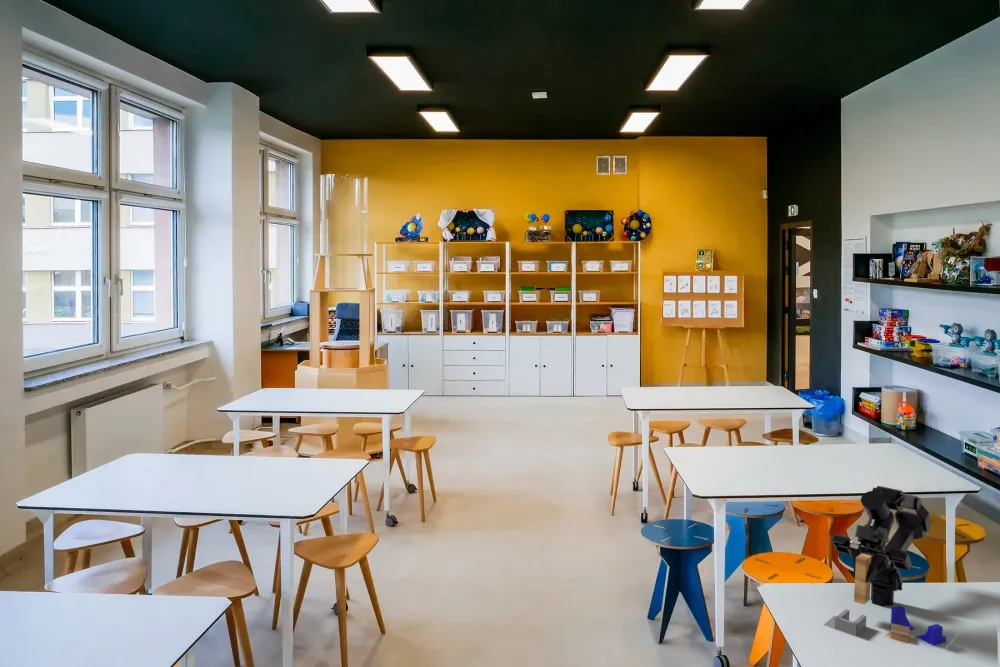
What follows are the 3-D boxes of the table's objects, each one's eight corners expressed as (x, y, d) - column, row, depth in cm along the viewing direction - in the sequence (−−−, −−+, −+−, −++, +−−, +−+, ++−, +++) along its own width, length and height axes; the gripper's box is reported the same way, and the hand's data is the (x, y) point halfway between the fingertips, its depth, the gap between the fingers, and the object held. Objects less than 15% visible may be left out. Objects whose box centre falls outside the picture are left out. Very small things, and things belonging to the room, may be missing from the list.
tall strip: (859, 596, 194) (861, 553, 193) (869, 599, 192) (871, 556, 191) (853, 601, 191) (855, 557, 190) (863, 604, 189) (865, 560, 188)
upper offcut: (891, 629, 186) (891, 623, 186) (909, 633, 184) (909, 627, 184) (890, 638, 182) (890, 631, 182) (908, 642, 180) (909, 635, 180)
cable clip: (945, 648, 180) (946, 625, 180) (932, 652, 179) (934, 628, 178) (903, 626, 191) (904, 604, 191) (890, 629, 190) (891, 607, 189)
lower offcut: (893, 636, 187) (893, 628, 187) (914, 643, 183) (914, 635, 183) (883, 644, 183) (884, 636, 183) (905, 651, 179) (905, 644, 179)
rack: (834, 621, 194) (834, 604, 193) (877, 636, 186) (878, 619, 186) (823, 630, 189) (823, 613, 189) (867, 646, 181) (868, 628, 181)
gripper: (835, 504, 199) (816, 554, 193) (909, 522, 185) (892, 576, 179) (845, 525, 205) (827, 574, 199) (918, 543, 192) (901, 597, 185)
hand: (860, 580), depth 190 cm, fingers closed on tall strip, 2 cm apart
